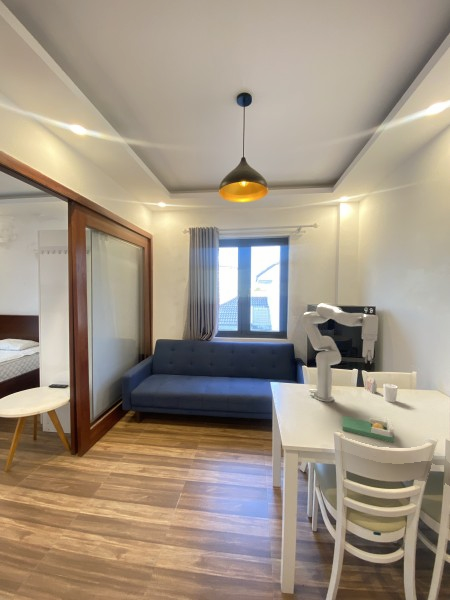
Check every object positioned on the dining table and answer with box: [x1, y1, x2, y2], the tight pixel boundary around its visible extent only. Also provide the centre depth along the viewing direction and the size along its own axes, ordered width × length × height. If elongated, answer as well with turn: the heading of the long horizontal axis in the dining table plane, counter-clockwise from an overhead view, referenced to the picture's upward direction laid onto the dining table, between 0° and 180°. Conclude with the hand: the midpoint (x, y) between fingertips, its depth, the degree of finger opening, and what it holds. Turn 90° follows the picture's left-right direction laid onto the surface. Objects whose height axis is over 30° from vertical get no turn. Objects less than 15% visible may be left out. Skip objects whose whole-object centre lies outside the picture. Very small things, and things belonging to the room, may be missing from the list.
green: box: [342, 415, 395, 443], centre depth 128 cm, size 22×12×6 cm, turn 64°
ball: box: [372, 423, 383, 429], centre depth 126 cm, size 5×5×5 cm
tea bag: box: [364, 375, 378, 394], centre depth 180 cm, size 4×7×10 cm, turn 7°
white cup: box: [382, 383, 398, 404], centre depth 165 cm, size 8×8×10 cm
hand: (367, 368), depth 138 cm, fingers open, 3 cm apart
